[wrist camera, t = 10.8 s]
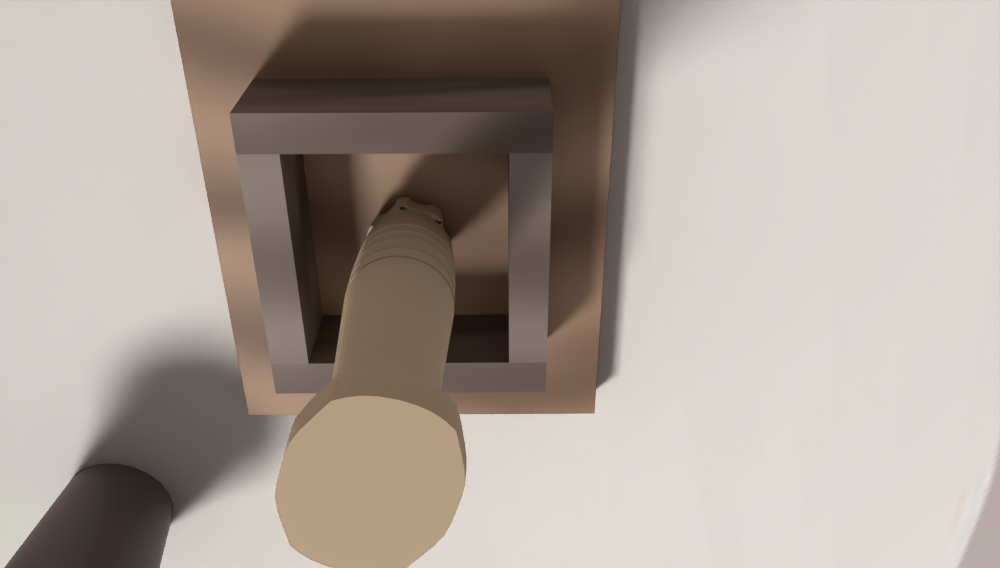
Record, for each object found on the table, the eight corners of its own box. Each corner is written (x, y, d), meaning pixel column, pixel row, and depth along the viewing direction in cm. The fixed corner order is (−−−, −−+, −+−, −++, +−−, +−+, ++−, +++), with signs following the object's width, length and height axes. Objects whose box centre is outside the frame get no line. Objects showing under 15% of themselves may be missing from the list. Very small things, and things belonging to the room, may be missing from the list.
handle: (492, 176, 36) (491, 422, 23) (447, 307, 39) (425, 587, 26) (372, 142, 35) (304, 377, 22) (336, 279, 38) (258, 552, 26)
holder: (177, -41, 33) (130, -7, 29) (618, -43, 33) (636, -9, 29) (256, 394, 44) (229, 467, 39) (591, 393, 44) (601, 465, 39)
